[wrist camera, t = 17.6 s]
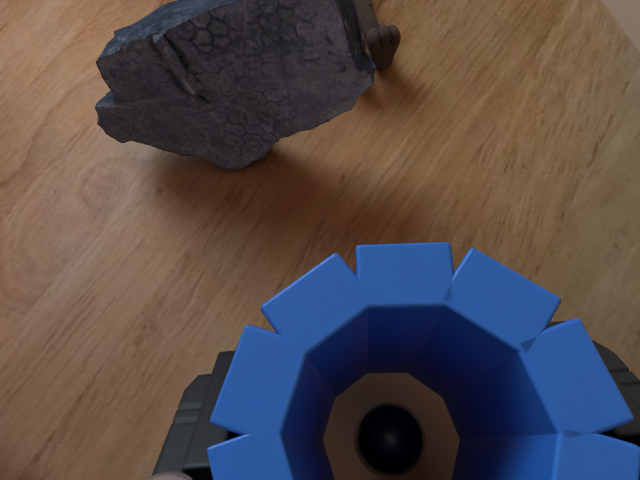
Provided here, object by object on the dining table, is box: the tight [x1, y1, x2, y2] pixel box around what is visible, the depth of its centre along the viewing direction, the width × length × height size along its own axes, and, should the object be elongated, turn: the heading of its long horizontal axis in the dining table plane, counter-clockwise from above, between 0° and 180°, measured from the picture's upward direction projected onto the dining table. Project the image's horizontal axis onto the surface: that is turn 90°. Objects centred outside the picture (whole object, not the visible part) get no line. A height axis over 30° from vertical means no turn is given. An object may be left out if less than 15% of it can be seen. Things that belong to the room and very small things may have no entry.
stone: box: [95, 0, 377, 170], centre depth 24 cm, size 14×6×10 cm, turn 105°
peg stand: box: [323, 373, 460, 480], centre depth 18 cm, size 10×10×8 cm
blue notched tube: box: [207, 242, 640, 480], centre depth 12 cm, size 6×7×8 cm
